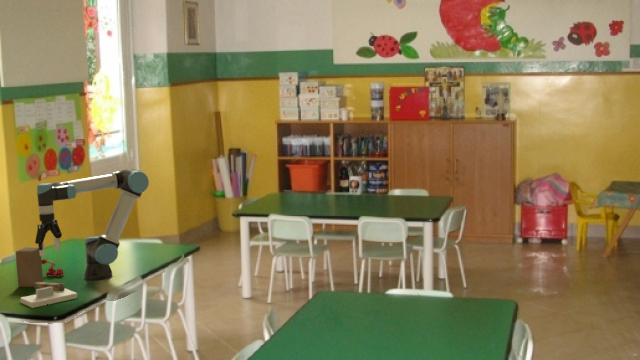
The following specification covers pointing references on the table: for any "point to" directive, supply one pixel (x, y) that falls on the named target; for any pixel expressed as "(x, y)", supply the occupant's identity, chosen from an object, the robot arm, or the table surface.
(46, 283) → the folding leg
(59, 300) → the white slotted base
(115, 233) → the robot arm
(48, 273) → the toy fire truck
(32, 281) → the block
